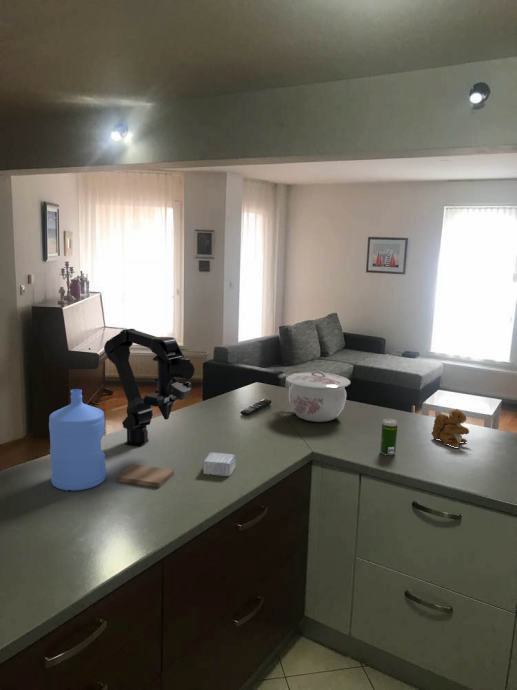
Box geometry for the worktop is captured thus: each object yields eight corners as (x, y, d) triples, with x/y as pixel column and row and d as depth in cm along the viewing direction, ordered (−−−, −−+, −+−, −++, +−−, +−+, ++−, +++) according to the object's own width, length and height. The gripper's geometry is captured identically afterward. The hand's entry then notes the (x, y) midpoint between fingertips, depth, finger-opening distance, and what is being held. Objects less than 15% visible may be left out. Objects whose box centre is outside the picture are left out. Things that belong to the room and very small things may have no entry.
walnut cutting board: (117, 481, 158) (117, 476, 158) (133, 468, 168) (133, 464, 168) (159, 487, 155) (159, 483, 155) (173, 474, 164) (173, 470, 164)
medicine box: (202, 474, 165) (229, 477, 164) (203, 460, 164) (230, 463, 163) (210, 464, 173) (235, 467, 171) (210, 451, 172) (236, 454, 171)
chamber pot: (353, 428, 212) (356, 379, 209) (285, 426, 213) (287, 377, 209) (343, 408, 240) (345, 364, 236) (283, 406, 240) (284, 362, 237)
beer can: (398, 455, 185) (401, 422, 183) (385, 457, 184) (387, 424, 182) (389, 449, 190) (392, 418, 188) (377, 451, 189) (379, 419, 186)
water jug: (75, 497, 148) (72, 401, 143) (40, 483, 156) (35, 391, 151) (117, 477, 161) (115, 389, 156) (82, 465, 169) (80, 381, 164)
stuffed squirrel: (458, 450, 192) (461, 415, 190) (424, 439, 203) (426, 406, 200) (471, 444, 199) (475, 410, 196) (437, 434, 209) (440, 402, 207)
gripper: (170, 383, 166) (170, 431, 168) (201, 372, 182) (200, 415, 185) (141, 379, 170) (142, 425, 173) (174, 368, 187) (174, 410, 190)
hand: (166, 419), depth 180 cm, fingers closed
